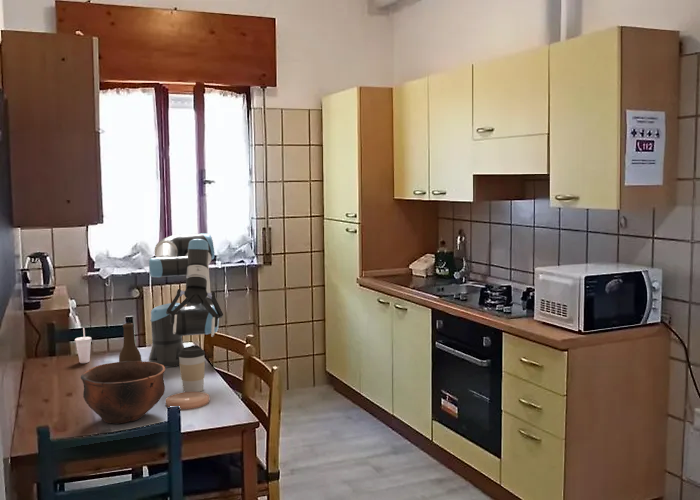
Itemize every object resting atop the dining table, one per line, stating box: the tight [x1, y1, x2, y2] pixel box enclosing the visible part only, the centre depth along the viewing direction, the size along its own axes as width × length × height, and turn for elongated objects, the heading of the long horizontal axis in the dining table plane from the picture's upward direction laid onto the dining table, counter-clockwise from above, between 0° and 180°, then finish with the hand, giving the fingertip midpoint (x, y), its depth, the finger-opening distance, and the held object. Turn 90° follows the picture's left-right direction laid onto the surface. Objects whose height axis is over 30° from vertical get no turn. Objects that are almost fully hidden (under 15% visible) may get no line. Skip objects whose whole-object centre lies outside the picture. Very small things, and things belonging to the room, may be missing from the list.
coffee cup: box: [178, 345, 206, 392], centre depth 254 cm, size 9×9×15 cm
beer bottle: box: [118, 322, 143, 362], centre depth 253 cm, size 8×8×24 cm
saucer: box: [165, 391, 211, 410], centre depth 241 cm, size 14×14×2 cm
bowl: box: [80, 360, 166, 424], centre depth 226 cm, size 25×25×15 cm
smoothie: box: [74, 327, 92, 364], centre depth 296 cm, size 6×6×14 cm
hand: (193, 334), depth 264 cm, fingers open, 13 cm apart
